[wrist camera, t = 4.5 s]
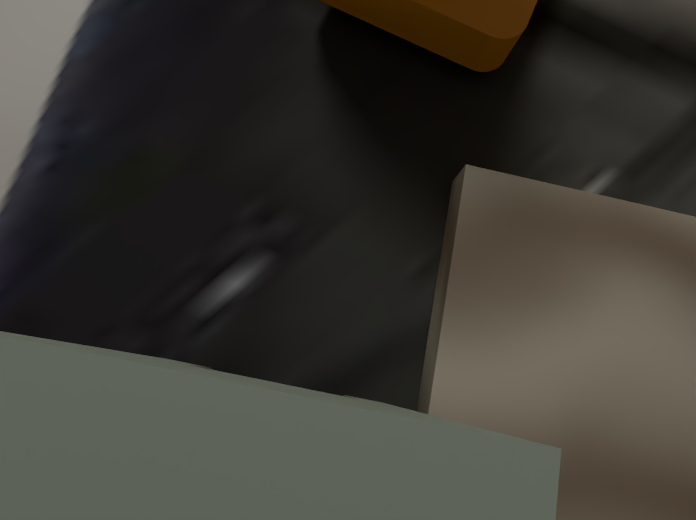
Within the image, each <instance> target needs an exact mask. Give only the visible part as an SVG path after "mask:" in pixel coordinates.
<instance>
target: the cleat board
mask: <svg viewBox="0 0 696 520" xmlns="http://www.w3.org/2000/svg"><path fill="white" fill-rule="evenodd" d="M416 411H417V412H421V413H424V414H428V415H432V416H436V417H440V418H444V419H448V420H452V421H456V422H459V423H463V424H467V425H471V426H475V427H479V428H483V429H487V430H491V431H494V432H498V433H502V434H506V435H510V436H514V437H518V438H522V439H526V440H529V441H533V442H537V443H541V444H545V445H549V446H553V447H557V448H561V460H560V472H559V484H558V496H557V508H556V520H696V217H694V216H689V215H685V214H680V213H676V212H672V211H667V210H663V209H659V208H654V207H650V206H646V205H641V204H637V203H632V202H628V201H624V200H619V199H615V198H611V197H606V196H602V195H598V194H593V193H589V192H584V191H580V190H576V189H571V188H567V187H563V186H558V185H554V184H550V183H545V182H541V181H536V180H532V179H528V178H523V177H519V176H515V175H510V174H506V173H501V172H497V171H493V170H488V169H484V168H480V167H475V166H471V165H467V164H466V165H465V166H464V167H463V169H462V170H461V171H460V173H459V174H458V175H457V176H456V178H455V179H454V180H453V181H452V187H451V194H450V200H449V206H448V213H447V219H446V225H445V232H444V238H443V245H442V251H441V257H440V264H439V270H438V276H437V283H436V289H435V296H434V302H433V308H432V315H431V321H430V327H429V334H428V340H427V347H426V353H425V359H424V366H423V372H422V378H421V385H420V391H419V398H418V404H417V410H416Z"/></svg>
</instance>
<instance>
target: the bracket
mask: <svg viewBox="0 0 696 520" xmlns="http://www.w3.org/2000/svg"><path fill="white" fill-rule="evenodd" d="M319 1H321V2H324V3H326V4H328V5H330V6H332V7H335V8H337V9H339V10H341V11H343V12H346V13H348V14H350V15H352V16H354V17H357V18H359V19H361V20H363V21H365V22H368V23H370V24H372V25H374V26H376V27H379V28H381V29H383V30H385V31H387V32H390V33H392V34H394V35H396V36H398V37H401V38H403V39H405V40H407V41H409V42H412V43H414V44H416V45H418V46H421V47H423V48H425V49H427V50H429V51H432V52H434V53H436V54H438V55H440V56H443V57H445V58H447V59H449V60H451V61H454V62H456V63H458V64H460V65H462V66H465V67H467V68H469V69H471V70H474V71H478V72H488V71H492V70H495V69H497V68H498V67H499V66H501V65H502V63H503V62H504V60H505V59H506V57H507V56H508V54H509V53H510V51H511V50H512V48H513V47H514V45H515V44H516V42H517V40H518V39H519V37H520V36H521V34H522V33H523V31H524V30H525V28H526V27H527V25H528V22H529V20H530V17H531V15H532V12H533V10H534V8H535V5H536V3H537V0H319Z"/></svg>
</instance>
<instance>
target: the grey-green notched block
mask: <svg viewBox="0 0 696 520" xmlns="http://www.w3.org/2000/svg"><path fill="white" fill-rule="evenodd" d="M560 460H561V448H557V447H553V446H549V445H545V444H541V443H537V442H533V441H529V440H526V439H522V438H518V437H514V436H510V435H506V434H502V433H498V432H494V431H491V430H487V429H483V428H479V427H475V426H471V425H467V424H463V423H459V422H456V421H452V420H448V419H444V418H440V417H436V416H432V415H428V414H424V413H421V412H417V411H413V410H409V409H405V408H401V407H397V406H393V405H389V404H385V403H381V402H376V401H371V400H366V399H361V398H356V397H352V396H347V395H343V396H339V395H334V394H329V393H324V392H319V391H314V390H309V389H304V388H299V387H294V386H289V385H284V384H280V383H275V382H270V381H265V380H260V379H255V378H250V377H245V376H240V375H235V374H230V373H225V372H220V371H216V370H212V368H209V367H204V366H199V365H194V364H189V363H184V362H179V361H174V360H169V359H163V358H157V357H151V356H145V355H139V354H133V353H127V352H121V351H115V350H109V349H103V348H97V347H91V346H85V345H79V344H73V343H67V342H61V341H55V340H49V339H43V338H37V337H31V336H25V335H19V334H13V333H7V332H1V331H0V520H556V508H557V496H558V484H559V472H560Z"/></svg>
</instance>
